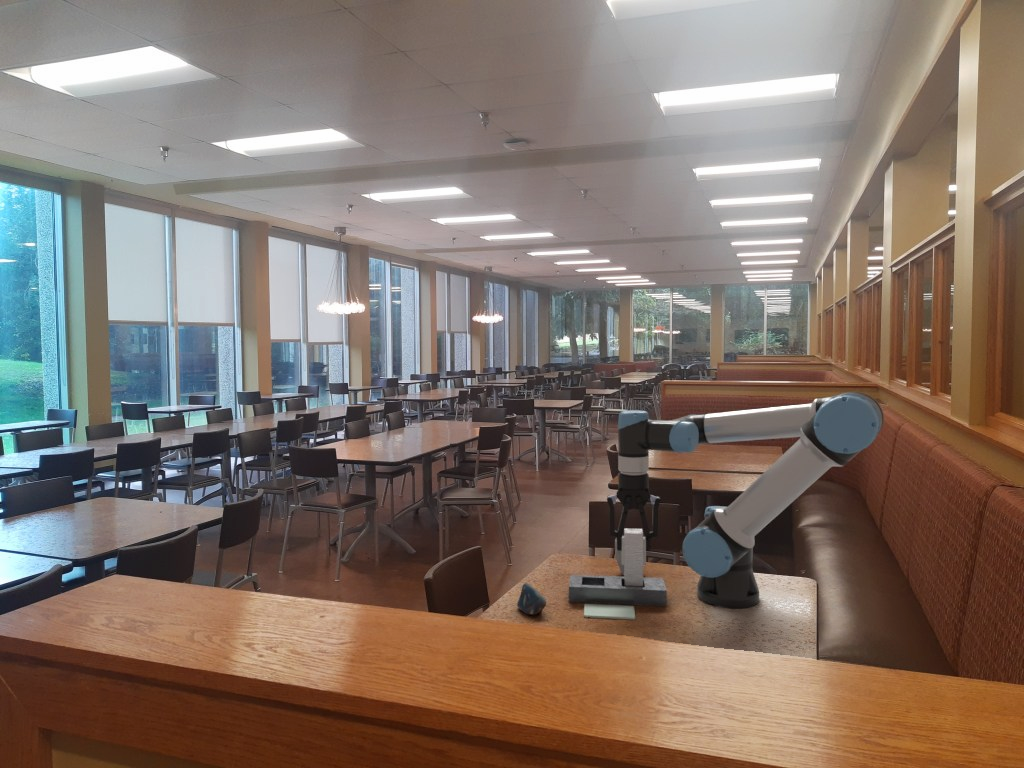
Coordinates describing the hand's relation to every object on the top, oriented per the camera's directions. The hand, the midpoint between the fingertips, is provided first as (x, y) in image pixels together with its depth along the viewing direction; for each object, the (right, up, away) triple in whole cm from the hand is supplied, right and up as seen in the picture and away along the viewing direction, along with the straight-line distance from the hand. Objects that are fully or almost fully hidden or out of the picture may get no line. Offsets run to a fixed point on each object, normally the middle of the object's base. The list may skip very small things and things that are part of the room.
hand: (633, 563), depth 174 cm
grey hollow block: (-4, -9, +1) cm, 10 cm away
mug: (+2, -8, +18) cm, 20 cm away
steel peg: (0, -6, 0) cm, 6 cm away
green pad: (-7, -10, -8) cm, 15 cm away
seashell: (-25, -10, -6) cm, 28 cm away
